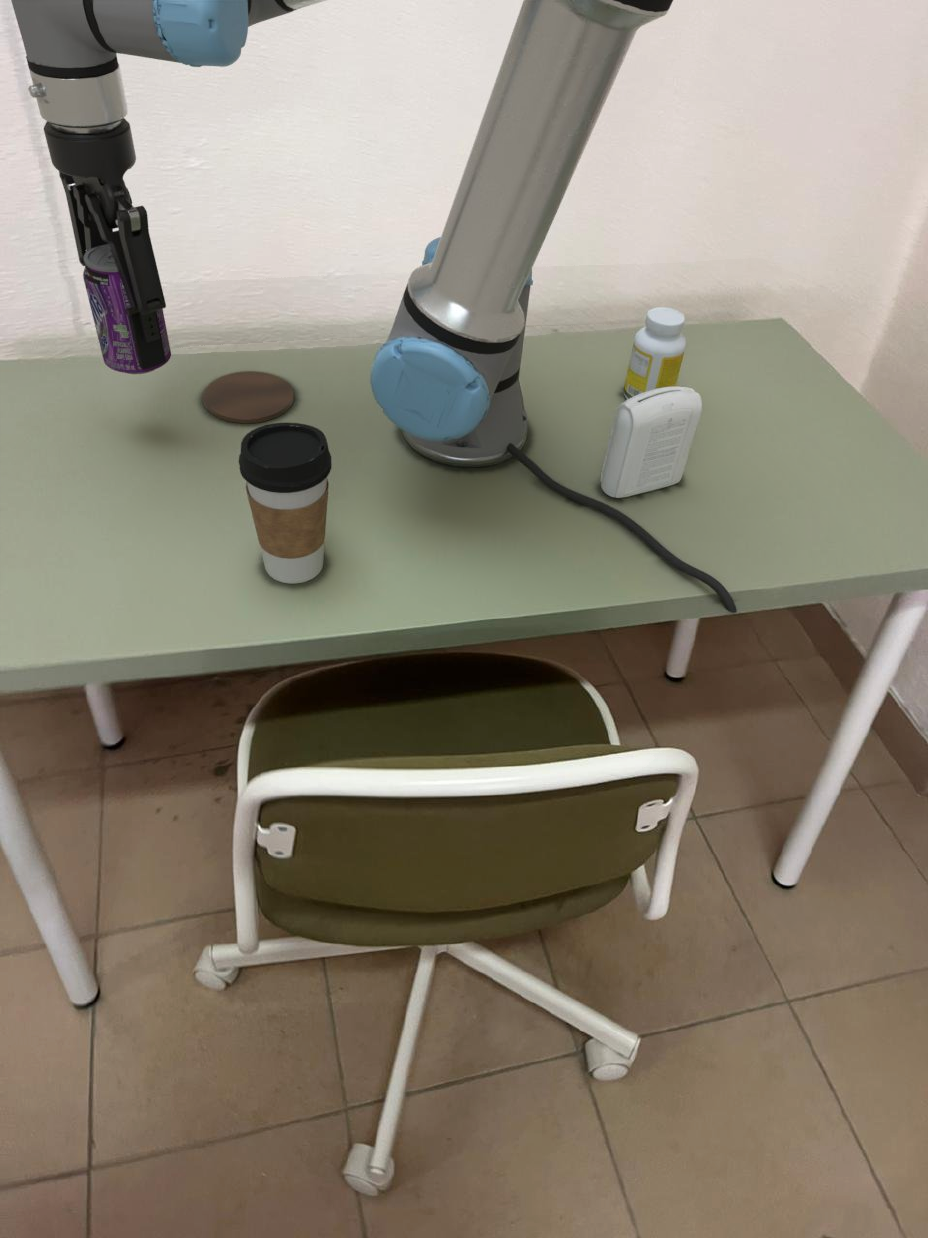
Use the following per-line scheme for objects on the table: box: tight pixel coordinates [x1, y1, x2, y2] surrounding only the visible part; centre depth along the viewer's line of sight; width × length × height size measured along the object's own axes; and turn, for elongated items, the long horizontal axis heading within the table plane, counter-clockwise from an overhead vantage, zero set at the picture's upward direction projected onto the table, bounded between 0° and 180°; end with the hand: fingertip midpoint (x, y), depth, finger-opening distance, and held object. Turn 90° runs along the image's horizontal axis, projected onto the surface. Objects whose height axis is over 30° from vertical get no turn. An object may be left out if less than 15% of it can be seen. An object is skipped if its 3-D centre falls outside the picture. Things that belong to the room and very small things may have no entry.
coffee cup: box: [238, 422, 333, 585], centre depth 88 cm, size 8×8×15 cm
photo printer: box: [599, 385, 703, 499], centre depth 102 cm, size 10×4×12 cm, turn 117°
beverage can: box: [82, 244, 172, 375], centre depth 96 cm, size 7×7×12 cm
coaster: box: [202, 370, 295, 424], centre depth 113 cm, size 11×11×1 cm
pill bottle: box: [623, 306, 687, 400], centre depth 116 cm, size 6×6×12 cm
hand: (136, 349), depth 99 cm, fingers closed on beverage can, 7 cm apart
